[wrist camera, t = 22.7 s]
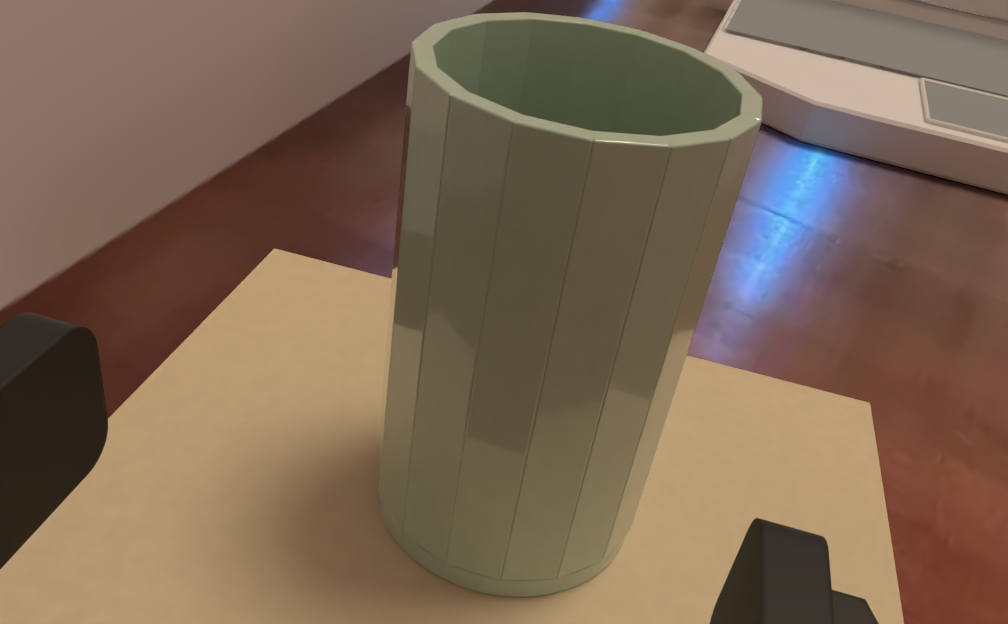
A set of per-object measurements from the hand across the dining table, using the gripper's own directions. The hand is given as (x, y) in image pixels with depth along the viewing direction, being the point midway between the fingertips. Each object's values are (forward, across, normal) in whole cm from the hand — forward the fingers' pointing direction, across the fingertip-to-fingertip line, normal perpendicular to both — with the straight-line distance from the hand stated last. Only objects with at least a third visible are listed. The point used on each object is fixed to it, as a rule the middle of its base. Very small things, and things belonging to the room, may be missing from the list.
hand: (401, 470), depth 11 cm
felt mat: (+9, 0, +9) cm, 13 cm away
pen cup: (+9, 0, +9) cm, 12 cm away
